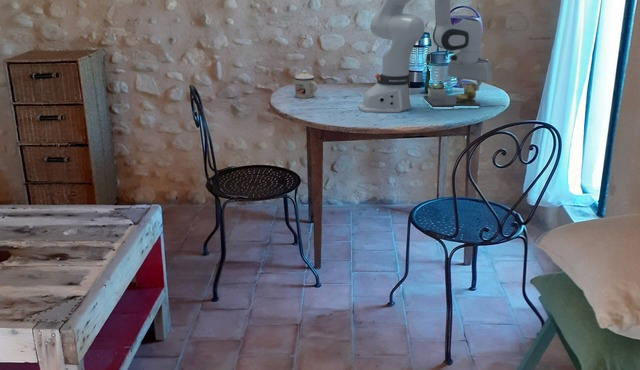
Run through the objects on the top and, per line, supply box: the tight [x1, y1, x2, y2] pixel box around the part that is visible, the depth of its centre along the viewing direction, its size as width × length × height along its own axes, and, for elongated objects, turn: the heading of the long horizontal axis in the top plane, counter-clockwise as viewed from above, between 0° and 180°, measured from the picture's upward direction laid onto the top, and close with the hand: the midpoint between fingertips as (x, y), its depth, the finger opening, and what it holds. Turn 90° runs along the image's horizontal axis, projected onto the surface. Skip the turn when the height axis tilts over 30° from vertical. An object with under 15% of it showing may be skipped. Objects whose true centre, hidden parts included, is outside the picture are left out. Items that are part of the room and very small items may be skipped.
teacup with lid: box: [294, 70, 318, 99], centre depth 297 cm, size 12×9×12 cm
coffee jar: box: [424, 52, 432, 92], centre depth 302 cm, size 10×8×19 cm
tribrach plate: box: [423, 84, 481, 107], centre depth 281 cm, size 20×18×8 cm
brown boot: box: [455, 81, 477, 101], centre depth 280 cm, size 11×5×6 cm, turn 133°
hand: (468, 89), depth 283 cm, fingers open, 6 cm apart
